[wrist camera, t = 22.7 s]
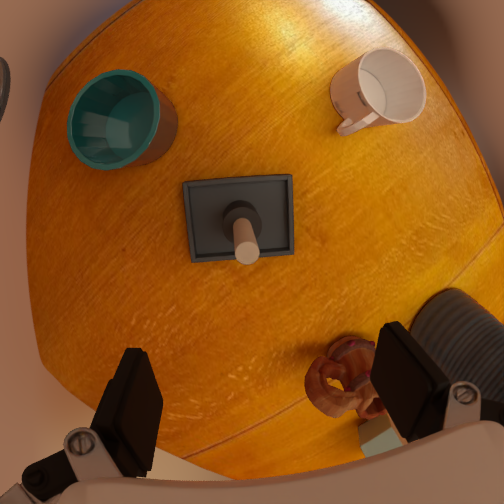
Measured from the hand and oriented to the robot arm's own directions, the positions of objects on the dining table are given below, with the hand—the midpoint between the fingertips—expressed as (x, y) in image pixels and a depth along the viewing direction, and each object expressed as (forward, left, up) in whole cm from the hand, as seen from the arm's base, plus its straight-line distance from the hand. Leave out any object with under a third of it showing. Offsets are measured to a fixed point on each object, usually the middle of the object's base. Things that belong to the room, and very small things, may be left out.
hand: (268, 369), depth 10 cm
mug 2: (+14, -23, -28) cm, 39 cm away
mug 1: (+16, +15, -28) cm, 36 cm away
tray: (0, 0, -28) cm, 28 cm away
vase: (+37, -23, -28) cm, 52 cm away
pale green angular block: (+29, -51, -28) cm, 65 cm away
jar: (-12, +13, -28) cm, 33 cm away
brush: (0, 0, -28) cm, 28 cm away
